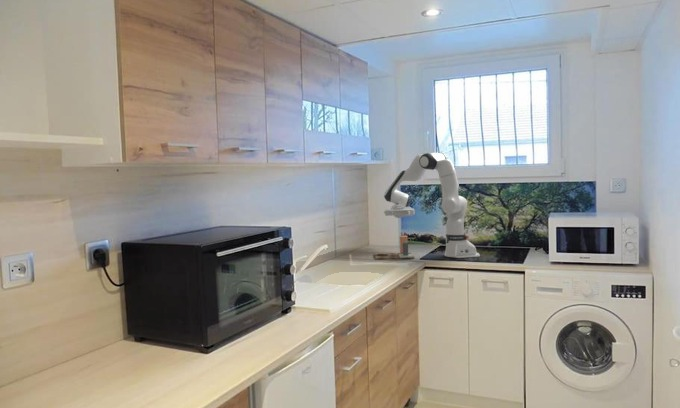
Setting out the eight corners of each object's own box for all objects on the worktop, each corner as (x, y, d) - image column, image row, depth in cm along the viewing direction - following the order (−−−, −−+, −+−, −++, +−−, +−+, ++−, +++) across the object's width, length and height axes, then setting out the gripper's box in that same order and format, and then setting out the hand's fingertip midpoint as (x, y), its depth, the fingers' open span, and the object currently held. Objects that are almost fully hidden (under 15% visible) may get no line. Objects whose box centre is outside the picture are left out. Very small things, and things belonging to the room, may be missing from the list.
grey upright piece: (411, 255, 325) (410, 241, 324) (412, 257, 317) (412, 243, 316) (398, 255, 325) (398, 241, 324) (400, 257, 317) (399, 243, 316)
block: (407, 255, 331) (406, 235, 331) (408, 256, 327) (407, 236, 326) (400, 255, 331) (399, 235, 331) (401, 256, 327) (400, 236, 326)
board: (410, 255, 336) (410, 252, 336) (414, 260, 318) (414, 257, 318) (374, 256, 336) (374, 253, 336) (376, 261, 318) (375, 258, 318)
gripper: (383, 207, 353) (385, 209, 339) (412, 206, 353) (415, 208, 339) (383, 216, 353) (385, 218, 340) (412, 215, 353) (415, 217, 340)
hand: (400, 213), depth 339 cm, fingers open, 8 cm apart
